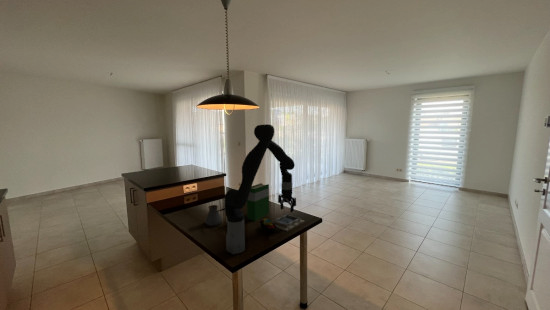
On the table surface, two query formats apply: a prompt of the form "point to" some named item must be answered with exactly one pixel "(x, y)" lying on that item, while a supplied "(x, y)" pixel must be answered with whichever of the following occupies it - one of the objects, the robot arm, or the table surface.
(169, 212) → the table surface
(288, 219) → the window
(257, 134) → the robot arm
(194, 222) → the table surface
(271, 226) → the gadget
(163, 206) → the table surface
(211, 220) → the coffee pot
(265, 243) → the table surface
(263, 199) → the hardback book
